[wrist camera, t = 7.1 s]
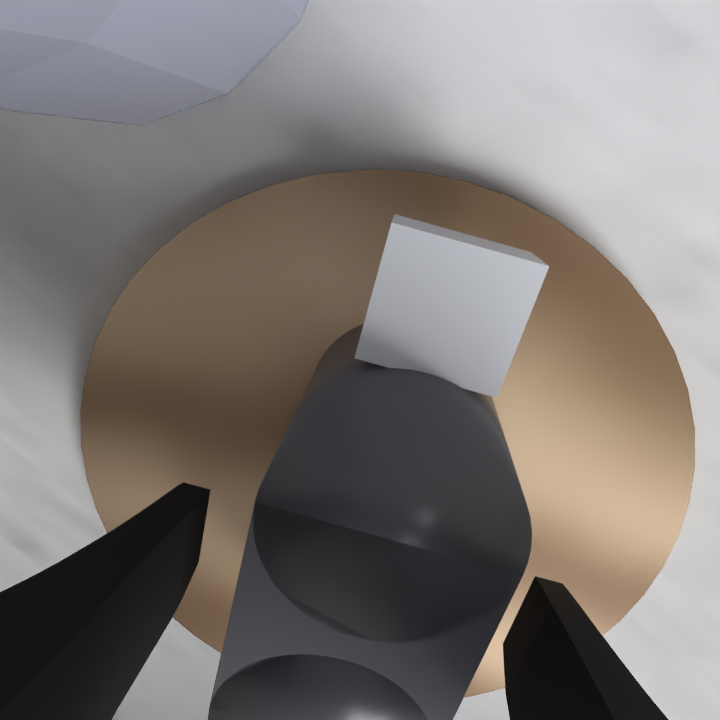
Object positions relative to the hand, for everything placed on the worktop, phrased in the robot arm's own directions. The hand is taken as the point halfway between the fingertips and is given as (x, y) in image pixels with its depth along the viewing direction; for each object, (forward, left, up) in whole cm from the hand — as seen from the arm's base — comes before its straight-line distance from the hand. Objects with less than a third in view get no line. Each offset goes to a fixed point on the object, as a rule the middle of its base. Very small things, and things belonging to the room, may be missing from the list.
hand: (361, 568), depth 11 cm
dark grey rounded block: (+1, 0, -3) cm, 3 cm away
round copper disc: (0, 0, -4) cm, 4 cm away
